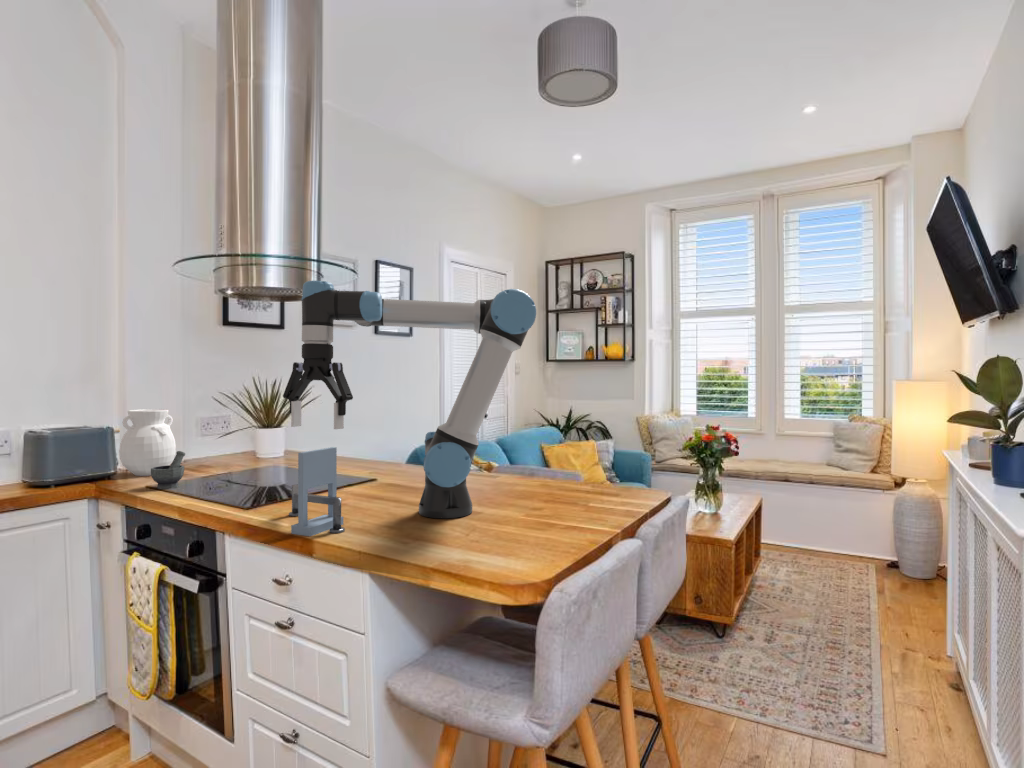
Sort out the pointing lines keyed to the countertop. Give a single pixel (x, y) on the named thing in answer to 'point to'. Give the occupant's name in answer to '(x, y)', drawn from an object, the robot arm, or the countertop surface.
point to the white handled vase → (147, 441)
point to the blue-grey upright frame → (314, 473)
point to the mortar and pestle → (169, 473)
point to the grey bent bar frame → (322, 500)
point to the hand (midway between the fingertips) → (317, 427)
